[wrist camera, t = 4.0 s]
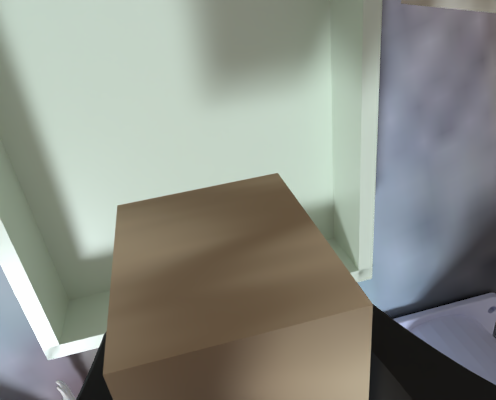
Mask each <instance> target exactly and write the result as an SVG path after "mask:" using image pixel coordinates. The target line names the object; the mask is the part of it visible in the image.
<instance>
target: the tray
mask: <svg viewBox="0 0 496 400" xmlns="http://www.w3.org/2000/svg"><path fill="white" fill-rule="evenodd" d="M381 21H382V0H0V265H1V267H2V269H3V271H4V273H5V275H6V277H7V279H8V281H9V283H10V285H11V287H12V289H13V291H14V293H15V295H16V297H17V299H18V301H19V303H20V305H21V307H22V309H23V311H24V313H25V315H26V317H27V319H28V321H29V323H30V325H31V327H32V329H33V331H34V333H35V335H36V337H37V339H38V341H39V343H40V345H41V347H42V349H43V351H44V353H45V355H46V357H47V359H48V360H52V359H56V358H59V357H63V356H67V355H71V354H75V353H79V352H83V351H87V350H91V349H95V348H99V346H100V344H101V341H102V339H103V336H104V334H105V333H106V331H107V320H108V308H109V297H110V285H111V273H112V262H113V250H114V238H115V227H116V215H117V205H122V204H127V203H132V202H137V201H142V200H147V199H151V198H156V197H161V196H166V195H171V194H176V193H181V192H186V191H191V190H196V189H201V188H206V187H211V186H215V185H220V184H225V183H230V182H235V181H240V180H245V179H250V178H255V177H260V176H265V175H270V174H275V173H278V174H279V175H280V177H281V178H282V179H283V181H284V182H285V183H286V185H287V186H288V188H289V189H290V190H291V192H292V193H293V195H294V196H295V197H296V199H297V200H298V202H299V203H300V204H301V206H302V207H303V208H304V210H305V211H306V213H307V214H308V215H309V217H310V218H311V220H312V221H313V222H314V224H315V225H316V226H317V228H318V229H319V231H320V232H321V233H322V235H323V236H324V238H325V239H326V240H327V242H328V243H329V244H330V246H331V247H332V249H333V250H334V251H335V253H336V254H337V256H338V257H339V258H340V260H341V261H342V262H343V264H344V265H345V267H346V268H347V269H348V271H349V272H350V274H351V275H352V276H353V278H354V279H355V281H356V282H361V281H365V280H369V279H372V263H373V236H374V210H375V183H376V156H377V129H378V102H379V75H380V48H381Z"/></svg>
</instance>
